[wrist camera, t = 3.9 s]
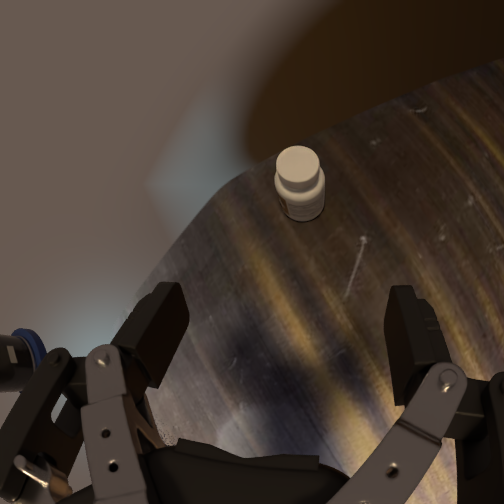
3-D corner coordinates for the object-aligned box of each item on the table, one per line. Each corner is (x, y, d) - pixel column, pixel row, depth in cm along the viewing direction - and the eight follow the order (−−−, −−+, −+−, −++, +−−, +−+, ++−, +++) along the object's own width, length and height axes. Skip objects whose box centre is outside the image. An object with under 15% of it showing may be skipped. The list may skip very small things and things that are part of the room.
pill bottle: (282, 183, 31) (270, 141, 23) (323, 183, 30) (324, 140, 22) (280, 222, 30) (268, 188, 22) (324, 222, 29) (326, 188, 21)
